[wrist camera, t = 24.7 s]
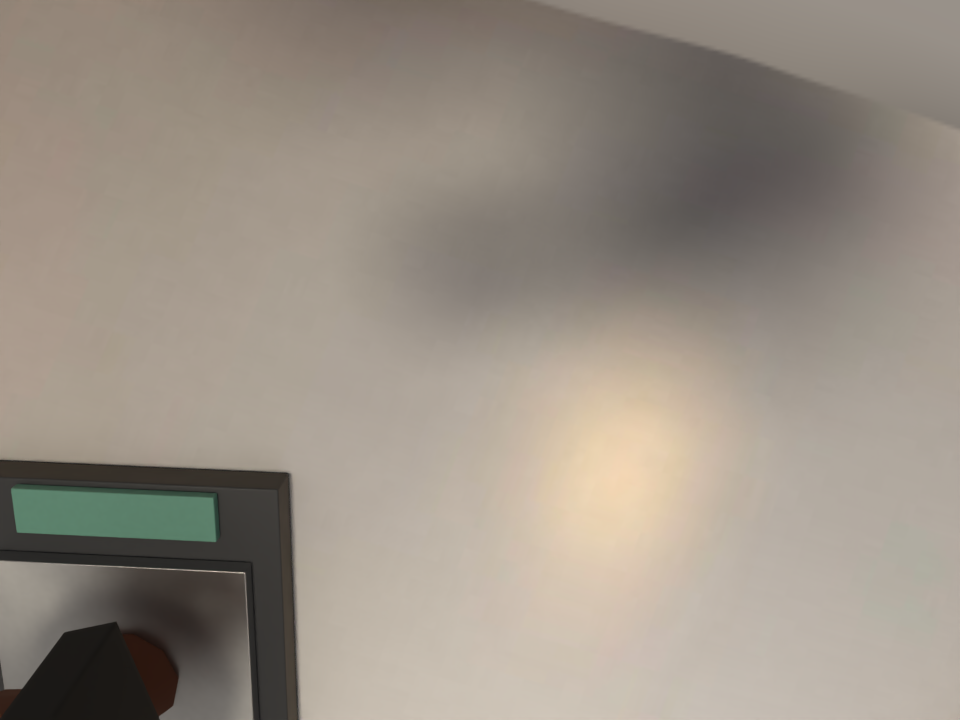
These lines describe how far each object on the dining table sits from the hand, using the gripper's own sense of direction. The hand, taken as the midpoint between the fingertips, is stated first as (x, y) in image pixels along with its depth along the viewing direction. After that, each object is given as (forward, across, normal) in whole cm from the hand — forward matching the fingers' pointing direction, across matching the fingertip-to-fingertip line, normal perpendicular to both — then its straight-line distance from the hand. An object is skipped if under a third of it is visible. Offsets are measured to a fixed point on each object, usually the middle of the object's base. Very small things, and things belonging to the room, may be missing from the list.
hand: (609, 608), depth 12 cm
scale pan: (+28, -25, -18) cm, 42 cm away
